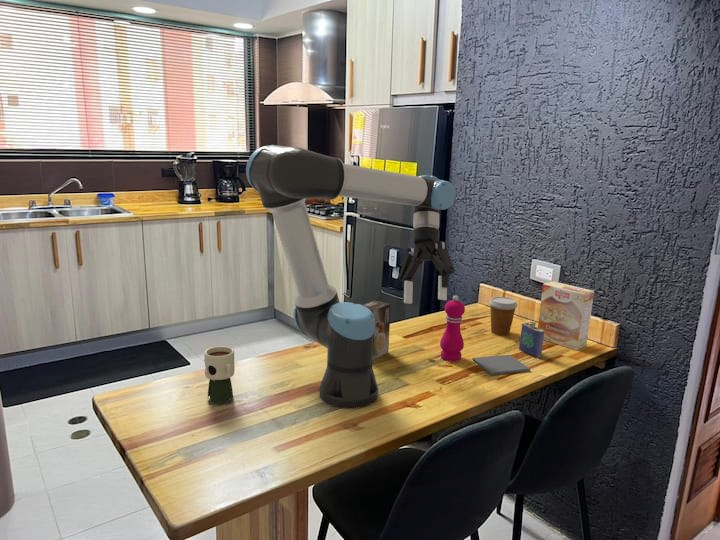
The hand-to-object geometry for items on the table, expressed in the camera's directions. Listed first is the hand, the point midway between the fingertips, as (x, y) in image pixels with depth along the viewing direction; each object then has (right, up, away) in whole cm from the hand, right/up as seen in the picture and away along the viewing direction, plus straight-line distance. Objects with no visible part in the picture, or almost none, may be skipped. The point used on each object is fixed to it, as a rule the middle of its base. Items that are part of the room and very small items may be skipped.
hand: (424, 301), depth 155 cm
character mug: (-53, -24, -18) cm, 61 cm away
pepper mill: (+10, -18, +14) cm, 25 cm away
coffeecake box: (+50, -16, +32) cm, 61 cm away
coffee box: (-15, -17, +15) cm, 27 cm away
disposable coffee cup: (+31, -13, +38) cm, 51 cm away
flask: (+36, -18, +21) cm, 45 cm away
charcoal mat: (+24, -20, +9) cm, 33 cm away
